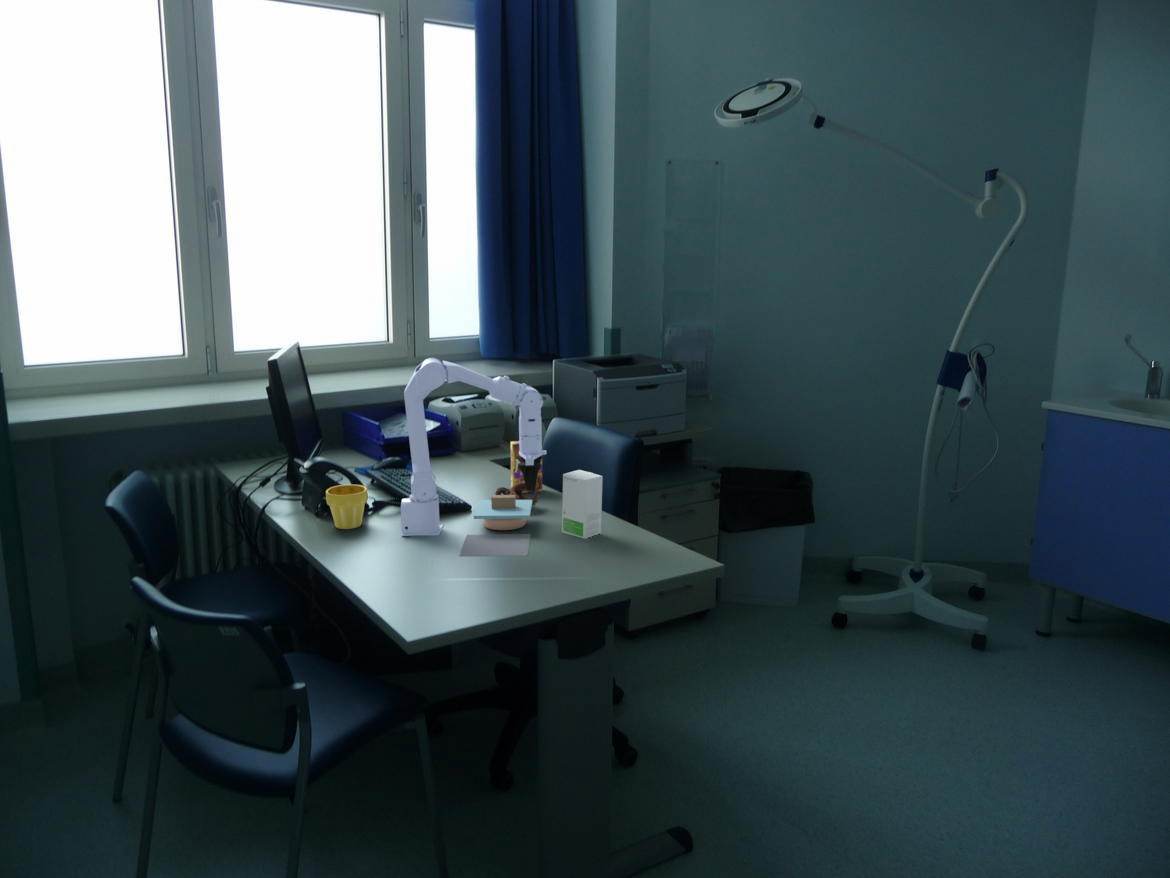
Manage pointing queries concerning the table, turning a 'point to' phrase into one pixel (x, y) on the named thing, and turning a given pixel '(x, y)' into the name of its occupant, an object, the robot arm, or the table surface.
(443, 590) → the table surface
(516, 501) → the lid
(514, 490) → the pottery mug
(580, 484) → the skincare box
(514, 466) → the candy box
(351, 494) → the plant pot
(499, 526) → the bowl
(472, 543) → the mat
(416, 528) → the robot arm
